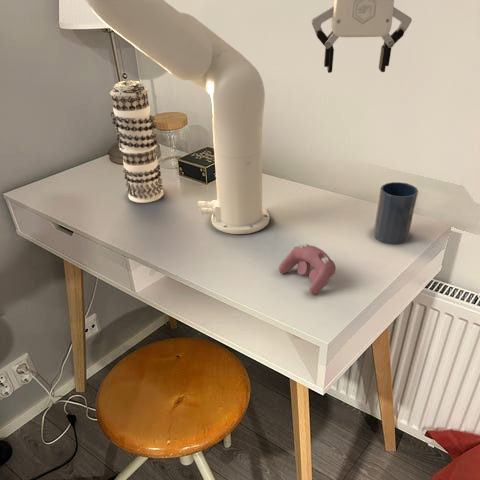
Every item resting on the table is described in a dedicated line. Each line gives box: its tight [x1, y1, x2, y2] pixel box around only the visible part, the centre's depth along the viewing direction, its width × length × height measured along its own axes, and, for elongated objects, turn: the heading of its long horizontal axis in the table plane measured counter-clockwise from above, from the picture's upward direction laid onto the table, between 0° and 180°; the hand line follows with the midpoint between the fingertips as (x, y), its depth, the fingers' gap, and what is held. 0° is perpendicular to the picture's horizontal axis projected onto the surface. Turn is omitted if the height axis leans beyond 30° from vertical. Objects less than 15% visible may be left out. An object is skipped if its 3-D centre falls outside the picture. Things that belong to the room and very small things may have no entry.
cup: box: [373, 181, 419, 245], centre depth 95 cm, size 7×7×10 cm
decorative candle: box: [109, 80, 164, 204], centre depth 109 cm, size 9×9×25 cm
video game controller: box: [278, 243, 337, 296], centre depth 86 cm, size 10×5×7 cm, turn 35°
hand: (355, 70), depth 91 cm, fingers open, 9 cm apart
